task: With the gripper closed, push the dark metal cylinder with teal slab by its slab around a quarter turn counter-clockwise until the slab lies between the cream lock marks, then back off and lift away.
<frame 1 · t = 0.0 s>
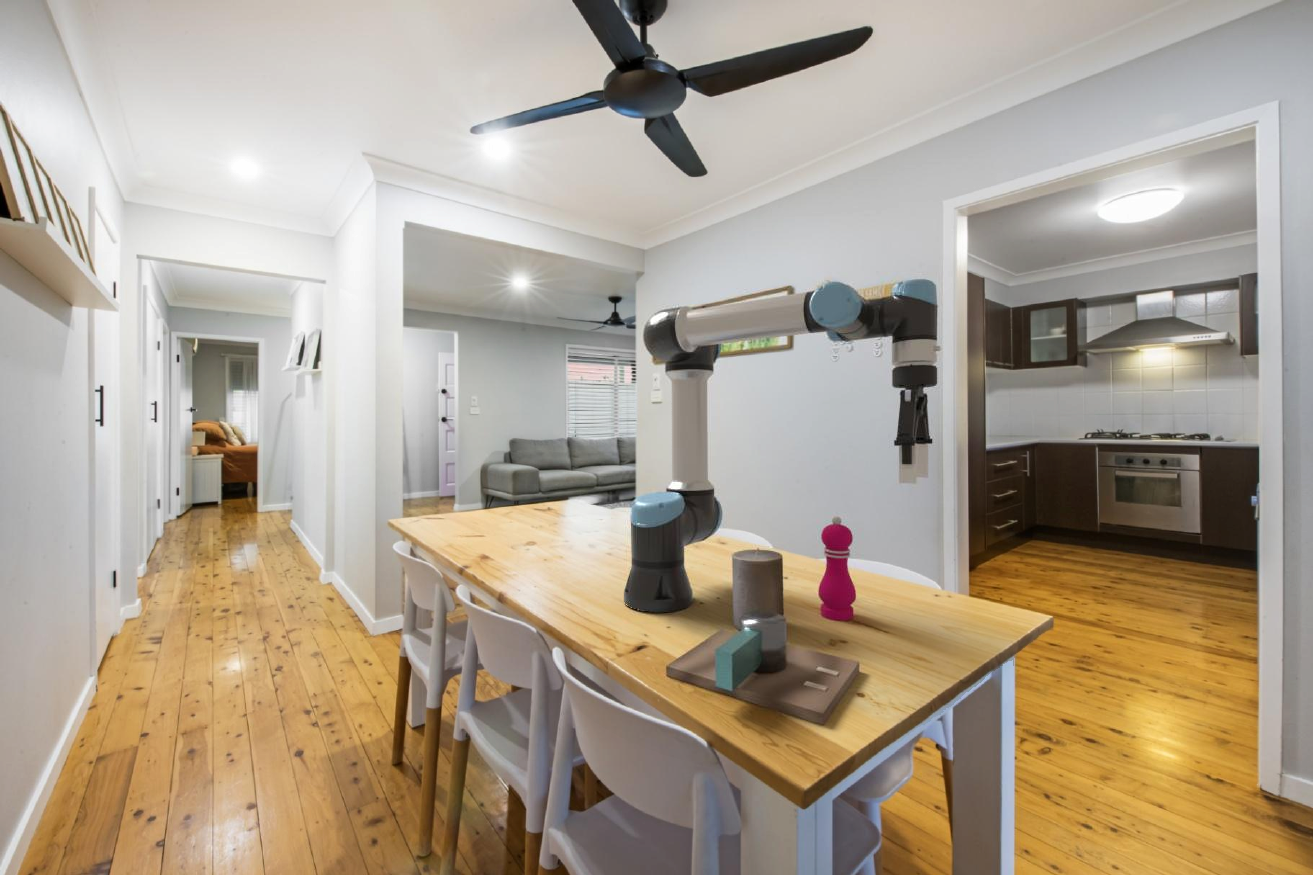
hand: (914, 480, 98), 28 cm above the table, tool pointing down, fingers open, 13 cm apart
pillar candle: (757, 626, 101), on the table
cylinder with teal slab: (750, 651, 77), point 5 cm above the table, hinge at 0.0°
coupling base: (763, 673, 81), on the table
pepper mill: (837, 616, 106), on the table
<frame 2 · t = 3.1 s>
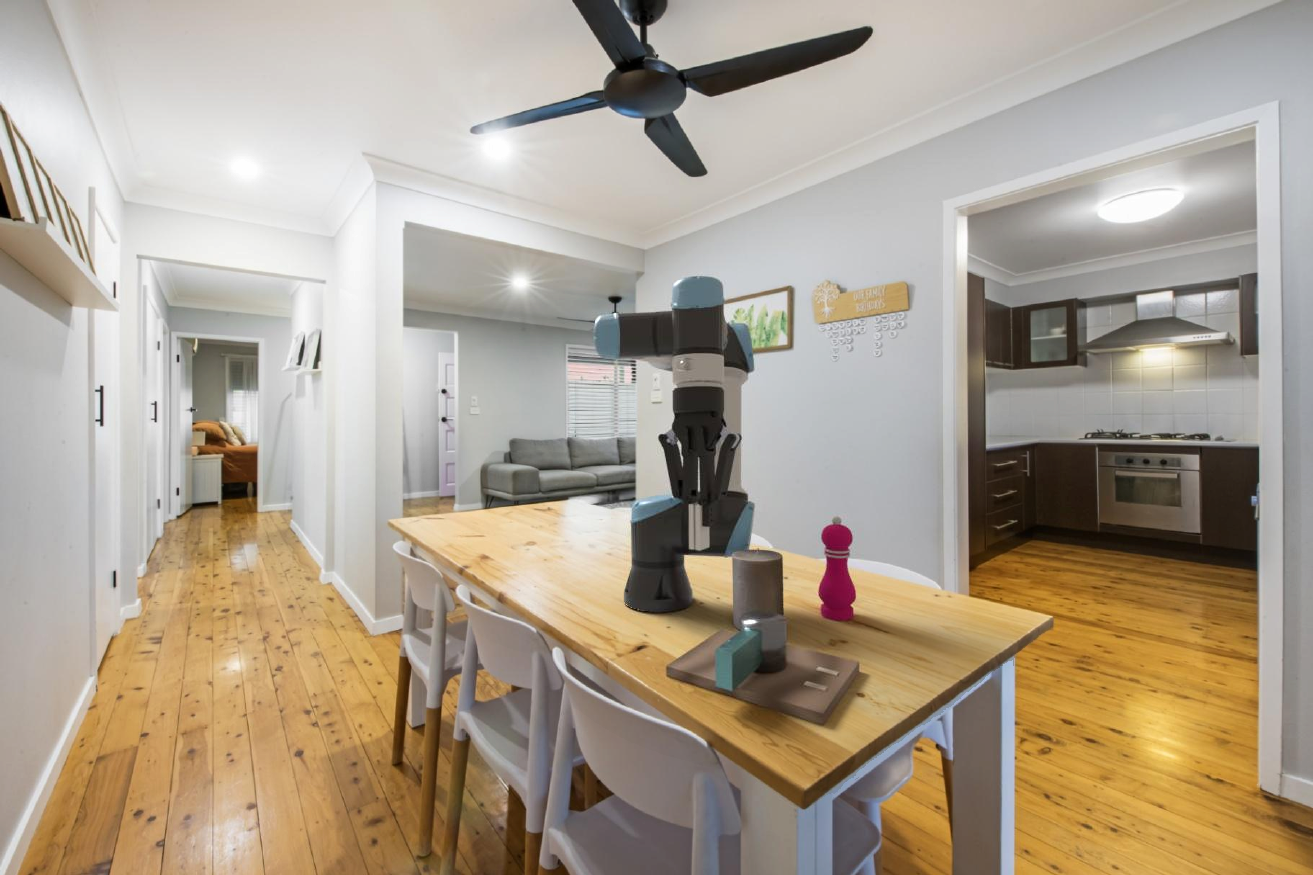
hand: (699, 547, 77), 20 cm above the table, tool pointing down, fingers closed
nothing on the table moved.
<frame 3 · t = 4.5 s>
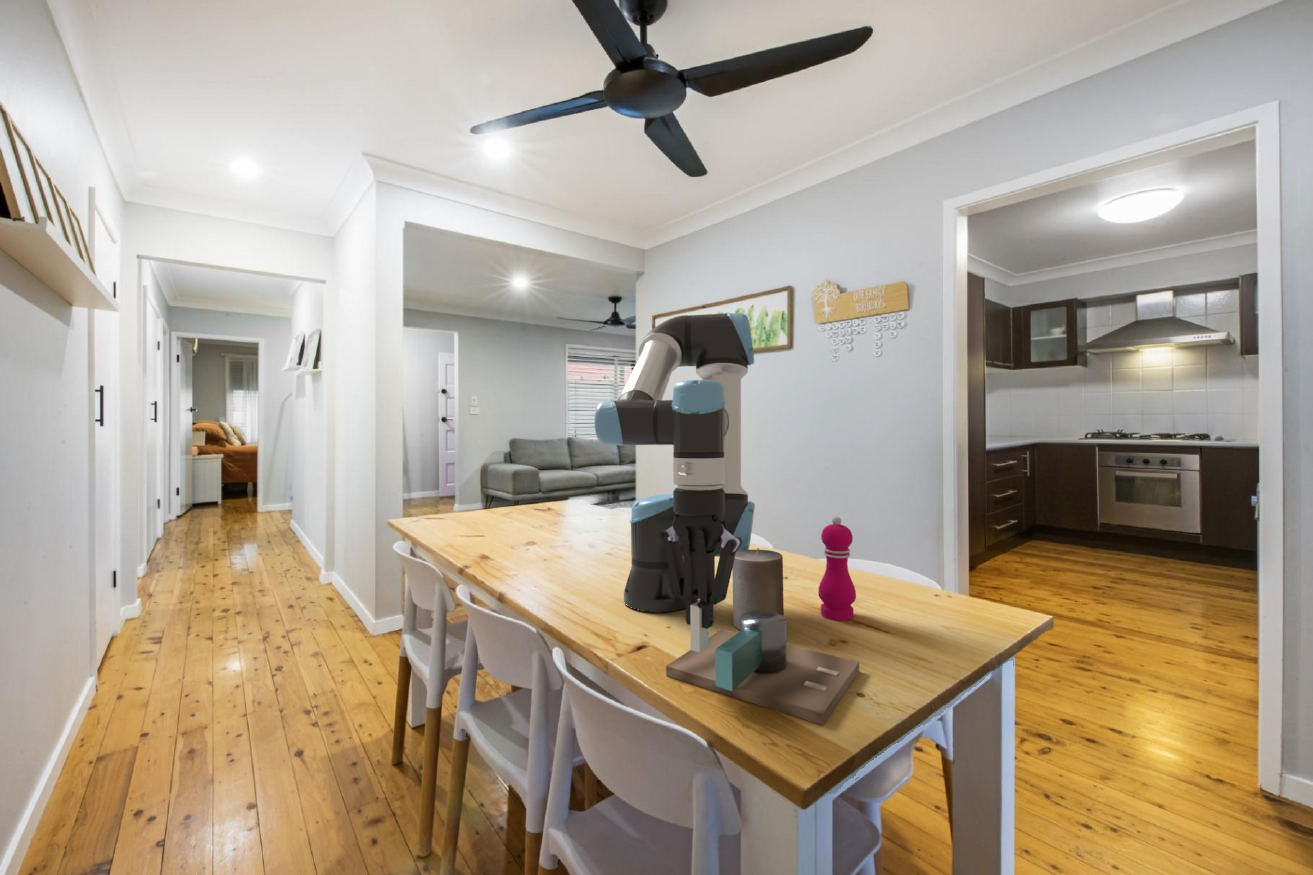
hand: (699, 647, 77), 6 cm above the table, tool pointing down, fingers closed
nothing on the table moved.
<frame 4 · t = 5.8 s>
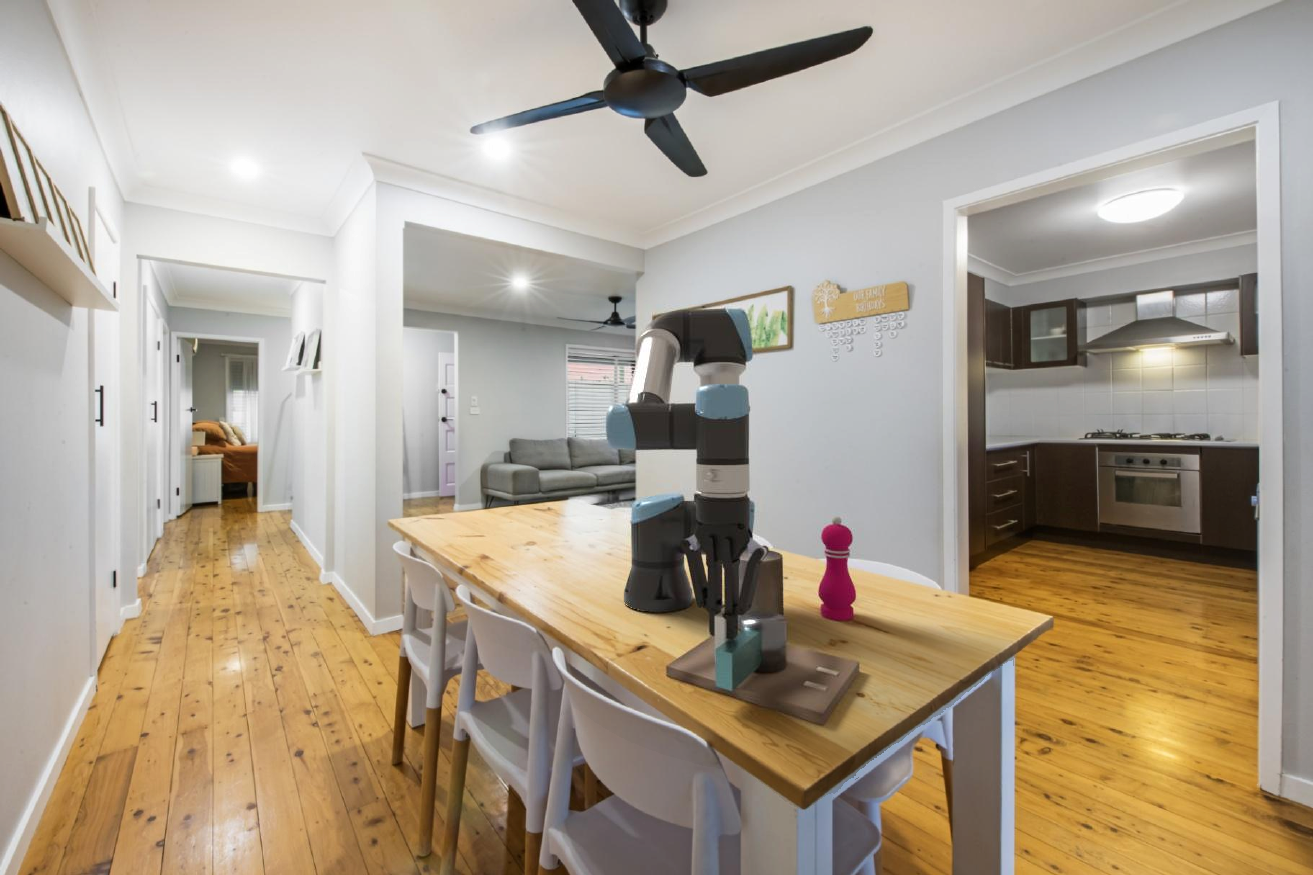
hand: (723, 659, 74), 5 cm above the table, tool pointing down, fingers closed
cylinder with teal slab: (750, 651, 77), point 5 cm above the table, hinge at 0.0°, touching gripper
everything else where it was.
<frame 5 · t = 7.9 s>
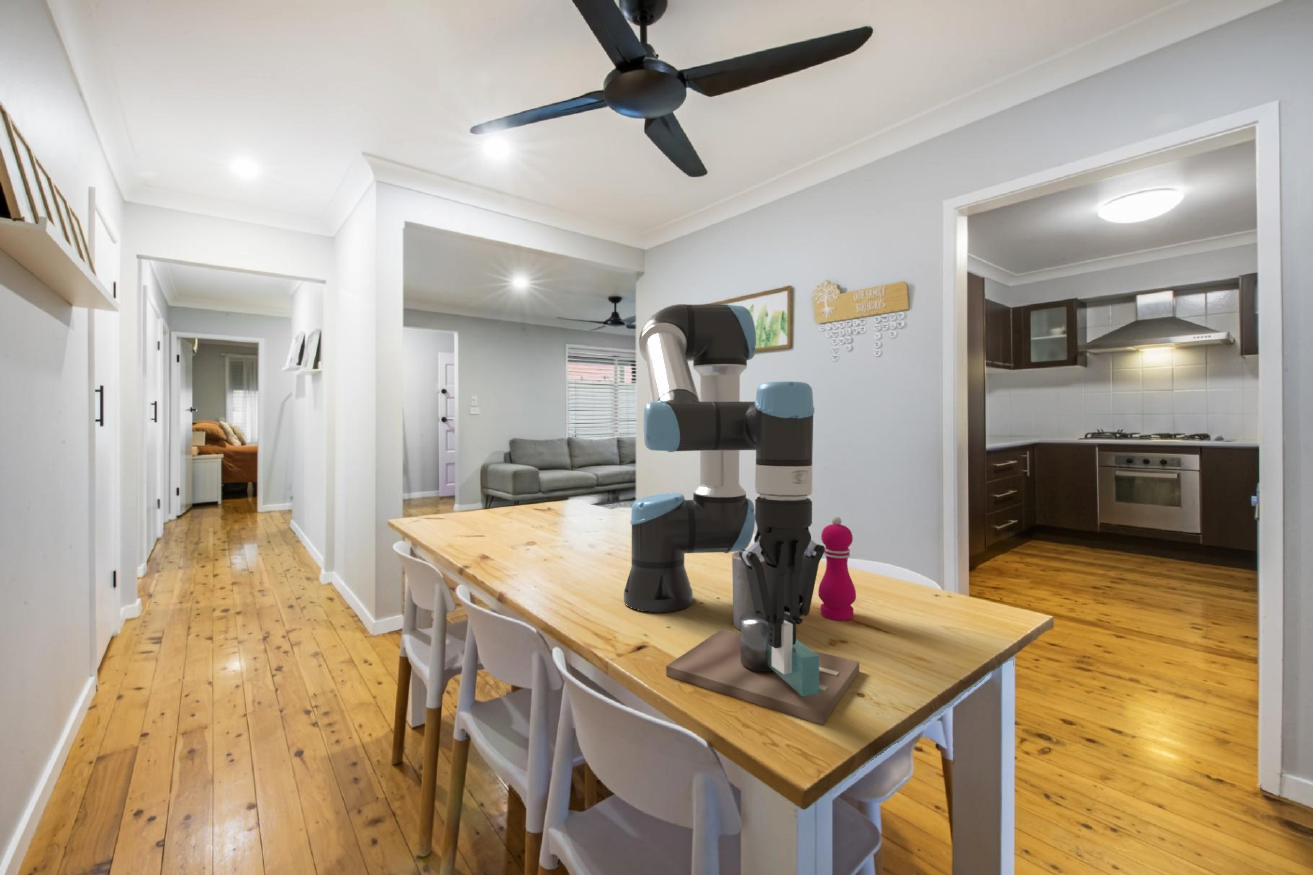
hand: (781, 669, 71), 5 cm above the table, tool pointing down, fingers closed
cylinder with teal slab: (778, 652, 76), point 5 cm above the table, hinge at 51.4°, touching gripper
everything else where it was.
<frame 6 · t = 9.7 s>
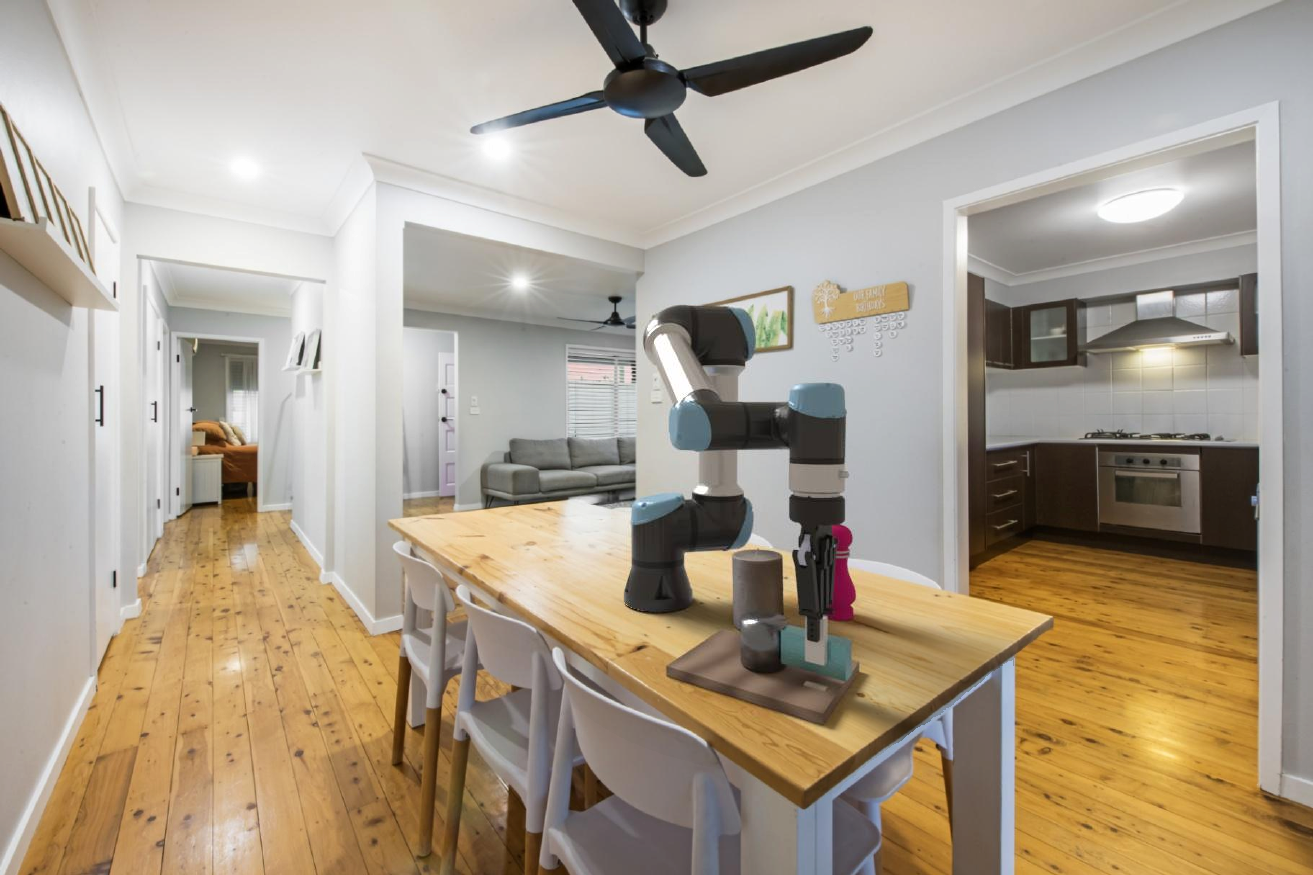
hand: (816, 661, 74), 5 cm above the table, tool pointing down, fingers closed
cylinder with teal slab: (792, 648, 78), point 5 cm above the table, hinge at 86.8°, touching gripper
everything else where it was.
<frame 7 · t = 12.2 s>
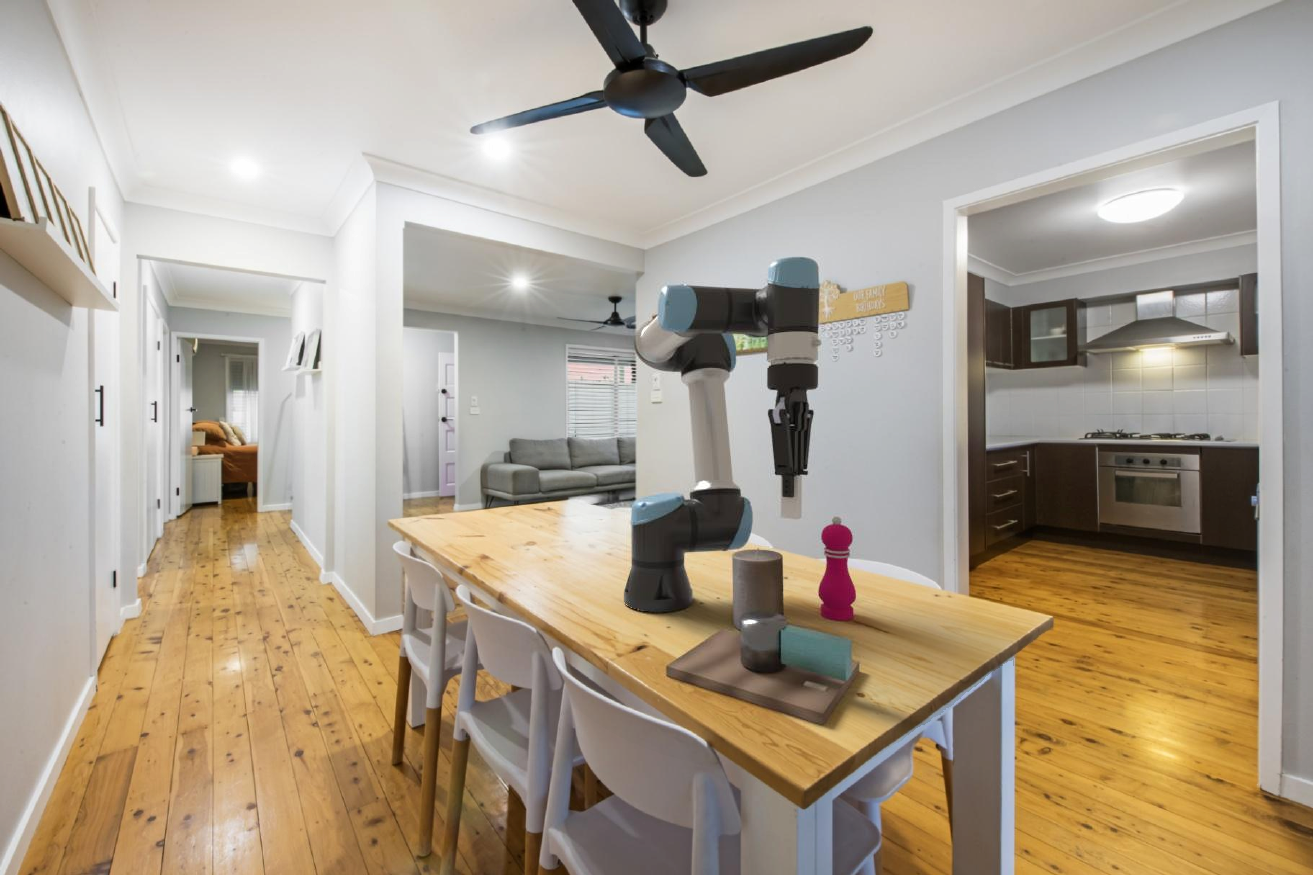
hand: (791, 517, 81), 24 cm above the table, tool pointing down, fingers closed
cylinder with teal slab: (792, 648, 78), point 5 cm above the table, hinge at 87.0°
everything else where it was.
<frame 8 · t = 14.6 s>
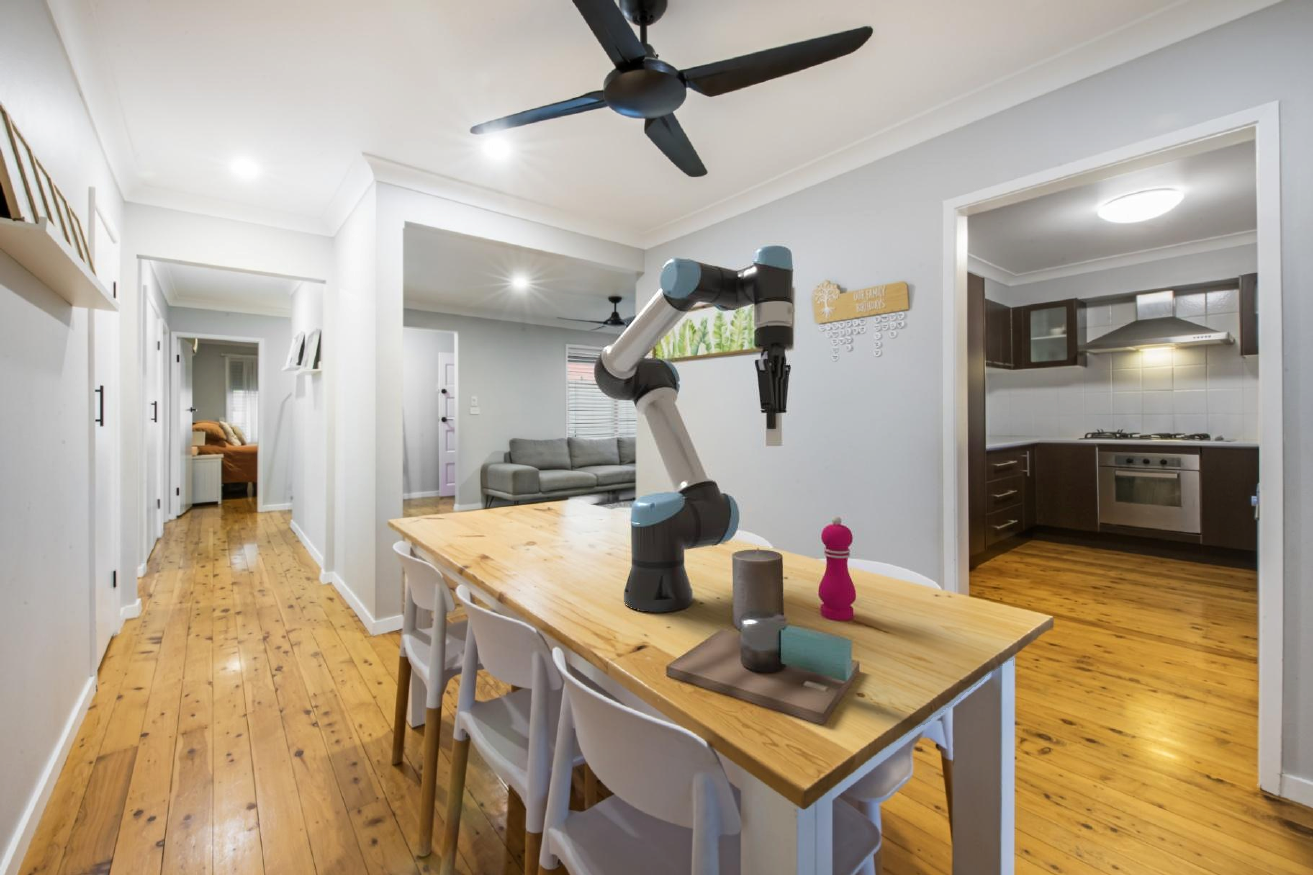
hand: (773, 445, 105), 34 cm above the table, tool pointing down, fingers closed
nothing on the table moved.
at the end: cylinder with teal slab at +87° (first picture: +0°); the gripper is holding nothing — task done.
